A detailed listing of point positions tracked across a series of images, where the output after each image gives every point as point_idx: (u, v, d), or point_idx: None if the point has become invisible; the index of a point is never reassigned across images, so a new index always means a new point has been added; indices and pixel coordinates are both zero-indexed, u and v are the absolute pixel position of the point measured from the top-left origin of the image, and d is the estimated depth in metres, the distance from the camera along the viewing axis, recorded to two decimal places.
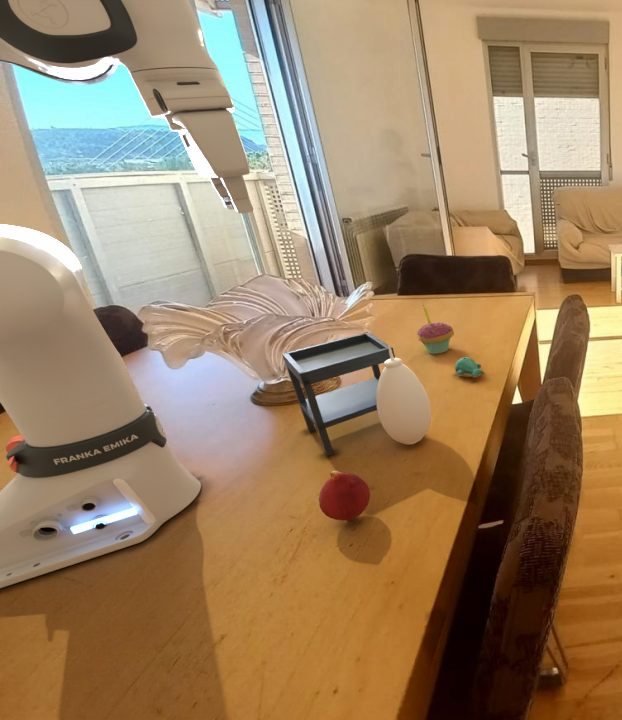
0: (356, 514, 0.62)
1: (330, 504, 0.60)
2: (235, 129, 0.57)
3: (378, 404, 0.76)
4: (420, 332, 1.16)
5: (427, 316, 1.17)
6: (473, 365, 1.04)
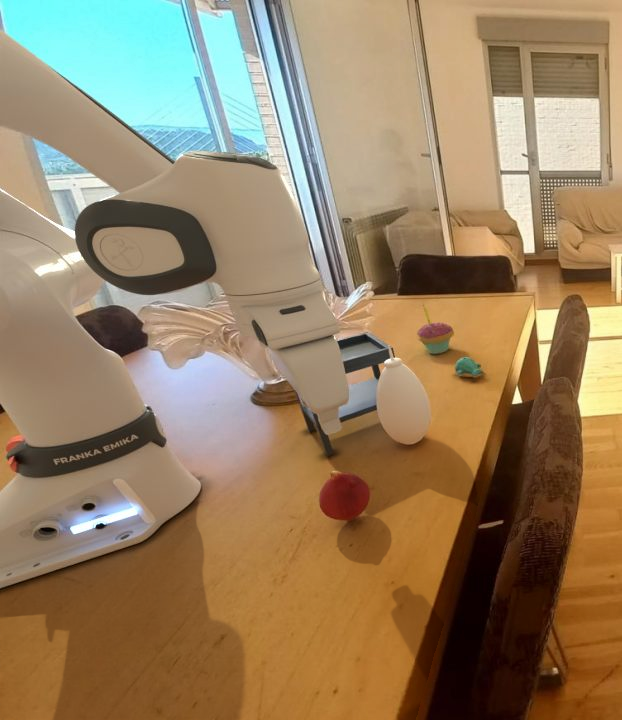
0: (356, 514, 0.62)
1: (330, 504, 0.60)
2: (340, 360, 0.49)
3: (378, 404, 0.76)
4: (420, 332, 1.16)
5: (427, 316, 1.17)
6: (473, 365, 1.04)
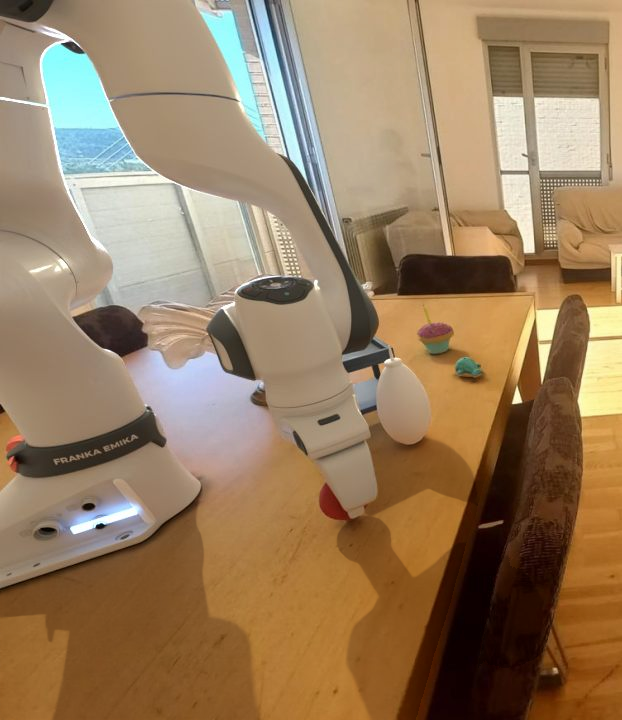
0: None
1: (330, 504, 0.60)
2: (371, 463, 0.54)
3: (378, 404, 0.76)
4: (420, 332, 1.16)
5: (427, 316, 1.17)
6: (473, 365, 1.04)
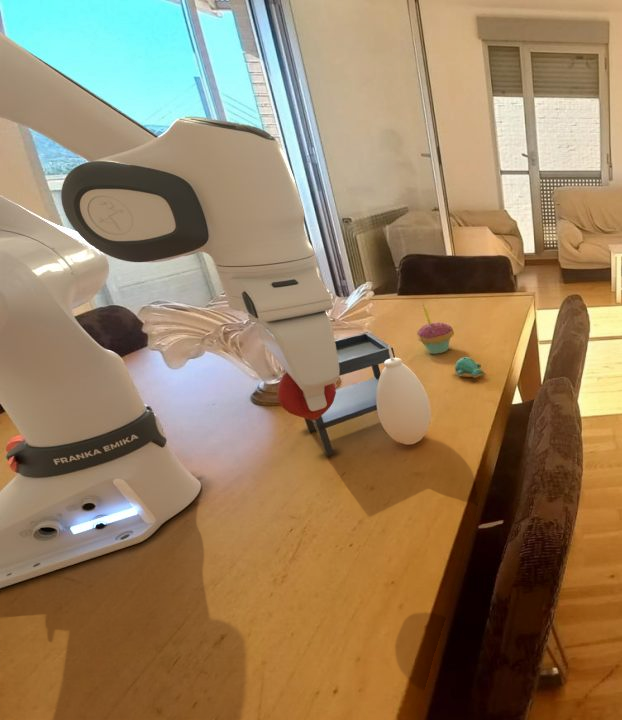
0: (319, 410, 0.56)
1: (289, 394, 0.54)
2: (332, 337, 0.48)
3: (378, 404, 0.76)
4: (420, 332, 1.16)
5: (427, 316, 1.17)
6: (473, 365, 1.04)
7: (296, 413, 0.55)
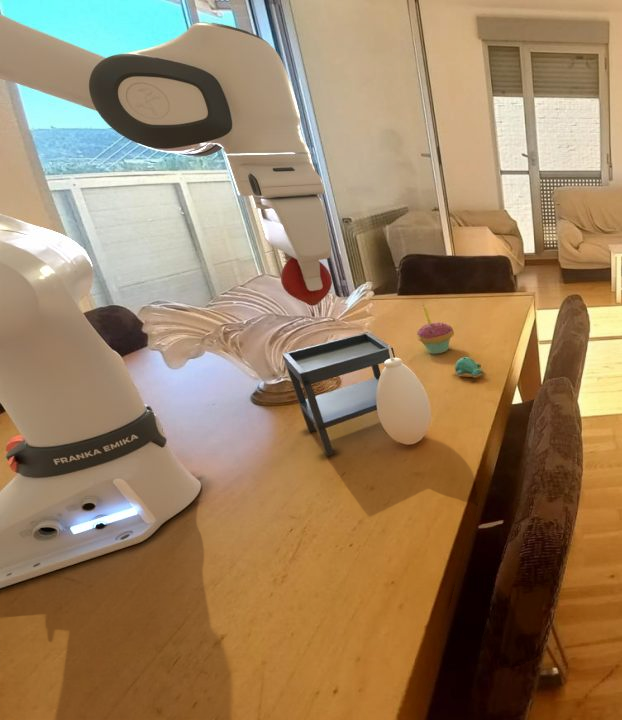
0: (317, 294, 0.65)
1: (290, 276, 0.63)
2: (323, 216, 0.57)
3: (378, 404, 0.76)
4: (420, 332, 1.16)
5: (427, 316, 1.17)
6: (473, 365, 1.04)
7: (297, 295, 0.64)
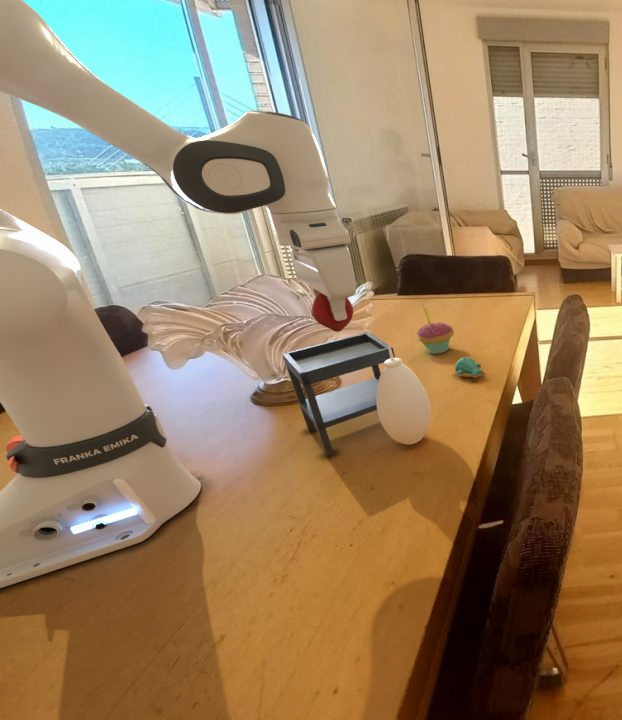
0: (342, 322, 0.78)
1: (320, 308, 0.76)
2: (350, 262, 0.70)
3: (378, 404, 0.76)
4: (420, 332, 1.16)
5: (427, 316, 1.17)
6: (473, 365, 1.04)
7: (326, 323, 0.77)
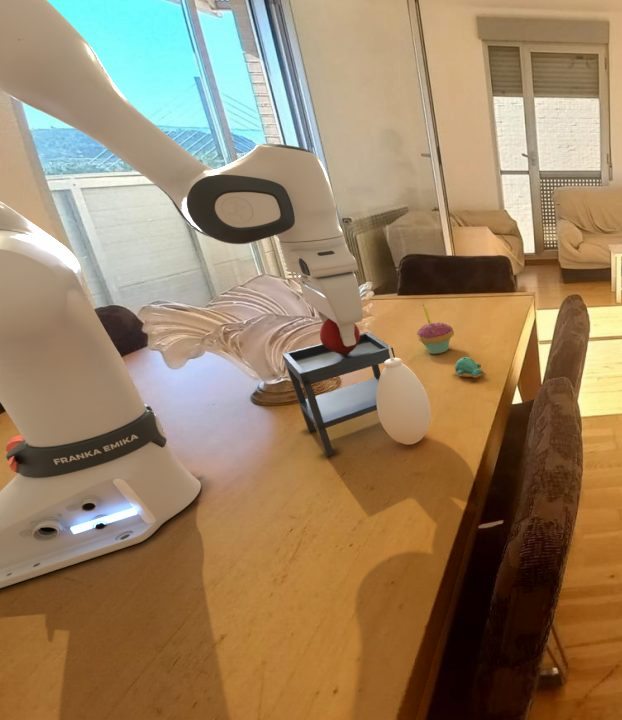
0: (349, 347, 0.80)
1: (328, 334, 0.77)
2: (358, 289, 0.71)
3: (378, 404, 0.76)
4: (420, 332, 1.16)
5: (427, 316, 1.17)
6: (473, 365, 1.04)
7: (333, 348, 0.79)
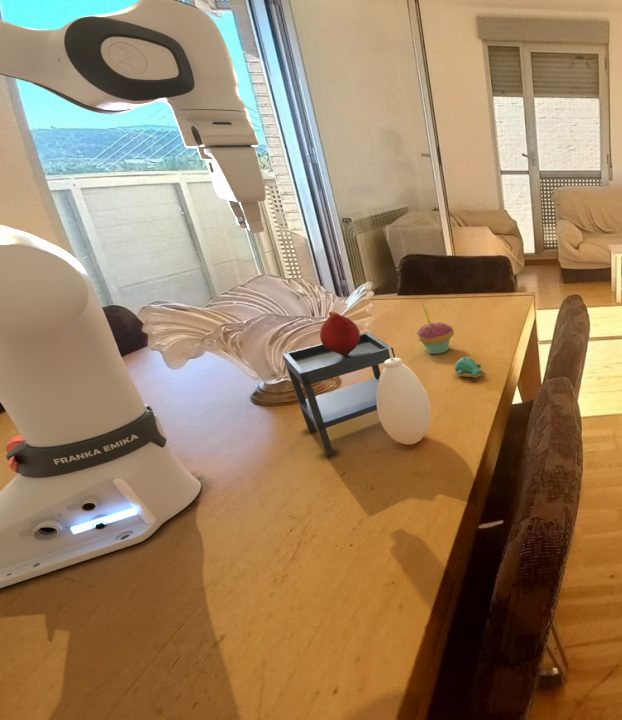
0: (349, 347, 0.80)
1: (328, 334, 0.77)
2: (257, 163, 0.67)
3: (378, 404, 0.76)
4: (420, 332, 1.16)
5: (427, 316, 1.17)
6: (473, 365, 1.04)
7: (333, 348, 0.79)
